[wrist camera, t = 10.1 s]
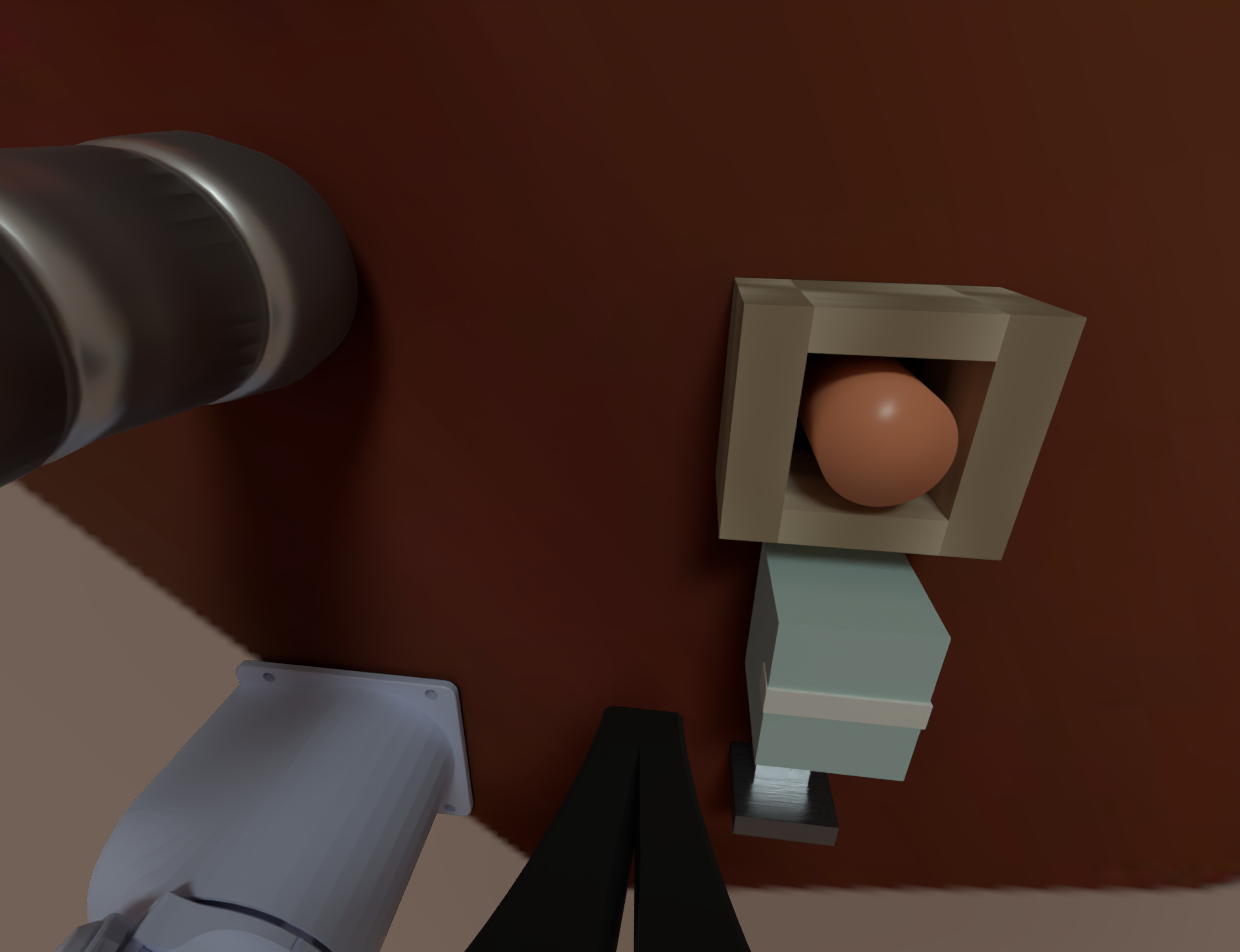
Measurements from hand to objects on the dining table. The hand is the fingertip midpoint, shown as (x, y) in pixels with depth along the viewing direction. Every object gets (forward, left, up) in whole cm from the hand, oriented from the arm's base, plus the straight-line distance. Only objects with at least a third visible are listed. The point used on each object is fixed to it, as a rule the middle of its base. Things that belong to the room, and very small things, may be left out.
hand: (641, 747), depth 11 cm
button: (+5, +4, -9) cm, 11 cm away
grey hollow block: (+5, +4, -10) cm, 12 cm away
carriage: (+5, -3, -8) cm, 10 cm away
